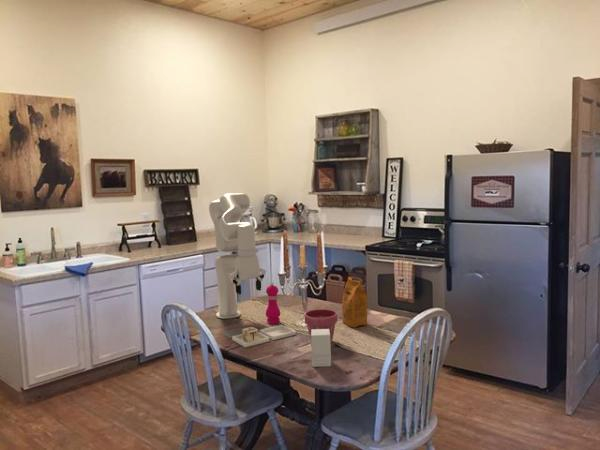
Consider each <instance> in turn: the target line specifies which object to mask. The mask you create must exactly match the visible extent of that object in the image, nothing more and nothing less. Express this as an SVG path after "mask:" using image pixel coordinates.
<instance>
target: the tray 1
mask: <svg viewBox="0 0 600 450" xmlns="http://www.w3.org/2000/svg"><path fill="white" fill-rule="evenodd" d="M231 340H232V341H233V342H235V343H237V344H239V345H240V346H242V347H244V348H249V347H251V346H257V345H259V344H264V343H267V342H270V338H269V337H267V336H265V335H263V334H261V333H260V331H258V340H256V341H252V342H248V343H247V342H245V341H244V340H243V334H240V335H236V336H232V338H231Z"/></svg>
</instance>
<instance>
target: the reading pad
mask: <svg viewBox="0 0 600 450" xmlns="http://www.w3.org/2000/svg"><path fill="white" fill-rule="evenodd" d="M245 328H246V327H243V326H239V327H236V328H231V329H228V330H223V331H219V333H220V334H221V335H223V336H224V337H226V338H228V339H232V336H236V335H240V334H243V330H242V329H245Z"/></svg>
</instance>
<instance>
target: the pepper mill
mask: <svg viewBox="0 0 600 450" xmlns="http://www.w3.org/2000/svg"><path fill="white" fill-rule="evenodd" d="M265 293H266V296H267V297H266V298H267V300H268V305H267V307H266V309H265V317H266V318H267V319H266V322H267V323H268V324H272V325H277V324H279V323H280V322H281V320H280V319H281V318H280V316H281V310H280V307H279V305H278V302H277V301H278V293H279V288H278V287H277V286H276V285H275V284H274V282H270V283H269V285H268V286H267V287H266V289H265Z"/></svg>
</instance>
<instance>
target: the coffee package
mask: <svg viewBox="0 0 600 450" xmlns="http://www.w3.org/2000/svg"><path fill="white" fill-rule="evenodd" d="M362 284H363V281H361V280H355V279H354V280H353V278H352V277H351V276H348V277H347V280H346V283H345V286H344V287H345V288H344V290H343V294H342V304H341V312H342V315H341V316H342V317H341V318H342V323H343V324H345V325H346V326H348V327H350V328H357V327H360V326H364V325H365V326H366V325H367V324H368V295H367V293H366V291H365V289H364V287H363V286H362Z"/></svg>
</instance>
